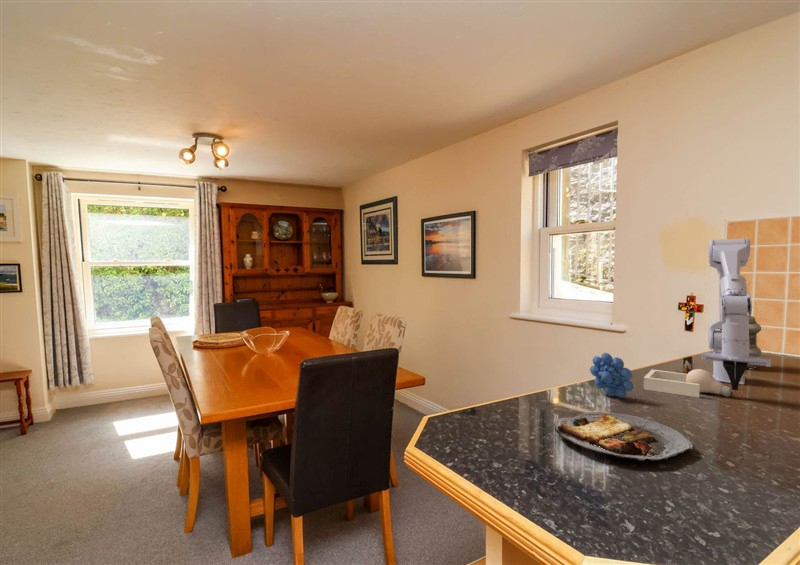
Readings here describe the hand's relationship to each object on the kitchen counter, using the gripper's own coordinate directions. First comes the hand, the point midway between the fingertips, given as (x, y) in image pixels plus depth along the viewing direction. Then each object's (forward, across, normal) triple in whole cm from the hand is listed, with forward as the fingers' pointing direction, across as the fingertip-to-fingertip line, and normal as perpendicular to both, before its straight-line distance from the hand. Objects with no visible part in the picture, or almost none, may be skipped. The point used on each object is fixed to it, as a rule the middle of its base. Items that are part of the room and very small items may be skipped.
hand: (734, 389), depth 112 cm
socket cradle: (+2, -13, 0) cm, 14 cm away
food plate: (+3, -18, -50) cm, 53 cm away
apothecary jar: (+2, 0, +45) cm, 45 cm away
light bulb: (+2, -6, 0) cm, 6 cm away
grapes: (+2, -26, -20) cm, 33 cm away
